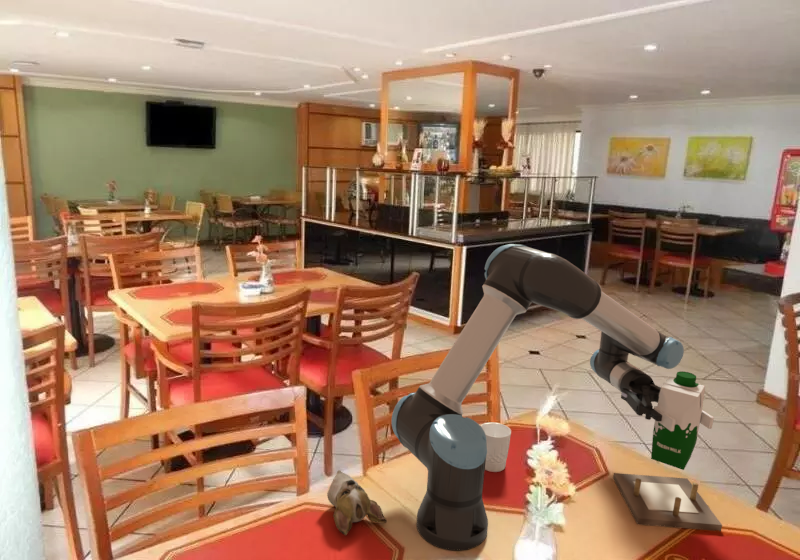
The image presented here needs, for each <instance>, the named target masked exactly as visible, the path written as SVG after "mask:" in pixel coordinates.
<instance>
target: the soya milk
mask: <svg viewBox="0 0 800 560" xmlns="http://www.w3.org/2000/svg"><path fill="white" fill-rule="evenodd" d="M696 381H697V375H695V374H694V373H691V372H689V371H681V370H680V371H677V372H676V376H675V377H673V376H669V377H668V378H667V379H666V380H665V381H664V382H663V383H662V386H661V390H660V393H659V400H658V403H657V407H659V408H660V409H661V410H662V411H663V412H665V413H667V414H668V415H670V416H671V417H673V418H674V419H675V420H676V421H675V427H674V431H670V430H668V429H667V428H666V427H664V426H663V425H662V424H660V423H659V422H658V421H656V420H654V425H653V429H652V430H653V431H652V439H651V440H652V441H651V442H652V443H651V455H650V456H651V457H650V458H651V460H653V461H657V462H658V463H662V464H665V465H668V466H672V467H674V468H677V469H680V470H682V471H684V470H685V468H686V467H687V465H688V463H689V461H690V460H691V457H692V454H693V451H694V449H695V447H696V443H697V439H698V435H699V429H700V426H701V425H700V424H701V423H700V419H701V414H702V410H703V406H704V405H703V404H704V398H705V392H706V391H705V390H706V385H703V384H699V383H698V382H696Z"/></svg>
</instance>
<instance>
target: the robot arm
mask: <svg viewBox="0 0 800 560" xmlns="http://www.w3.org/2000/svg"><path fill="white" fill-rule="evenodd" d="M484 270H485V272H484V278H485V281H484V282H483V285H482V286H481V287H482V291H483V296H482V298H481V300H480V301H479V303H478V305H477V306H476V308H475V310H474V311H473V313H472V314H471V315H470V318H469V319H468V320H467V322H466V324H465V325H464V327H463V329H461V332H460V333H459V335H458V337H457V338H456V340H455V342H454V343H453V345H451V348H450V349H449V351H448V352H447V354H446V356H445V357H444V359H443V361H442V362H441V364H440V365H439V367H438V369H437V370H436V371H435V373H434V375H433V377H432V379H431V380H430V382H428V383H425V384H421V385H419V387H418V388H417V390H416V391H415V392H411V393H409V394H408V395H404V396H403V397H401V398H400V399H399V400H398V401H397V403H396V404H395V406H394V408H393V411H392V414H391V428H392V430H393V433H394V435H395V437H396V438H397V439H398V441H399V443H400V444H401V445H402V446H403V447H404V448H405V449H407V450H409V452H410V453H411V454H412V455H413V456H414V457H415V458H416V459H417V460H418V461H419V462H420V463H421V464H422V465H423V466H424V467H425V468H426V470H427V481H426V484H427V485H426V492H425V493H424V497H423V498H422V501H421V502H420V505H419V508H418V510H417V514H416V522H415V523H416V529H417V532H418V534H419V535H420V536H421V537H422V538H423V540H425V541H426V542H428V543H429V544H431V545H432V546H435V547H437V548H440V549H444V550H448V551H466V550H471V549H473V548H476V547H478V546H479V545H481V544H482V543H483V542H484V541H485V540H486V538H487V534H488V529H489V528H488V527H489V519H488V516H487V512H486V508H485V504H484V501H483V489H484V481H485V471H486V470H485V462H486V455H487V441H486V434H485V432H484V430H483V428H482V427H481V424H479V423H478V422H477V421H475V420H474V419H472V418H470V417H464V416H463V414H464V412H463V407H462V403H463V401H465V398H466V397H467V395H468V393H469V392H470V390H471V388H473V385H474V384H475V383H476V380H477V379H478V377H479V376H480V374H481V373H482V371H483V369H484V368H485V367H486V364H487V362H488V361H489V360H490V358H491V356H492V354H493V353H494V351H495V349H496V348H497V347H498V345H499V344H500V341H501V340H502V338H503V337H504V335H505V334H506V332H507V331H508V329H509V327H510V325H511V324H512V322H513V321H514V319H515V318H516V316H517V315H521V314H525V313H526V312H527V310H528V309H529V307H530V305H531V304H532V303H533V304H536V305H538V306H542V307H545V308H548V309H550V310H555V311H557V312H560V313H563V314H564V315H567V316H568V317H569V318H571V319H574V320H583V321H584V322H586V323H588V324H589V325H591V326H592V327H593V328H595V329H598V331H600V332H601V333H600V341H599V349H597V350H595V351H594V352H593V354H592V355H591V357H590V360H589V365H590V369H592V371H593V372H594V373H595V374H596V375H597V376H598V377H599V378H600V379H602V380H604V381H605V382H607V383H608V384H610V385H611V386H612V387H613V388H615V389H616V390H617V391H619V392H620V393H621V395H620V398H621V400H624V402H626V403H627V404H628V405H629V406H630V408H631V409H632V411H634V413H635V414H636V415H637V416H640V417H641V416H643V415H644V418H645V420H648V421H650V420H651V419H653V420H654V421H655V420H656V421H658V422H659V423H660V424H662V425H663V426H664V427H666V428H667V429H668V430H670V431H674V427H675V421H676V420H675V419H674V418H673V417H671V416H670V415H668V414H667V413H665V412H663V411H662V410H661V409H660V408H659V407H657V406H653V403H654V402H655V403H657V404H658V400H659V393H660V390H661V387H662V386H661V387H660V385H657V384H656V383H655V382H654V380H653V378H652V377H651V376H650V374H647V373H646V372H644V371H643V370H641V369H640V368H638V367H636V366H635V365H633V364H632V363H630V362H629V361H628V360H629V355H632V356H634V357H638V358H640V359H642V360H645V361H646V362H650V363H652V364H654V365H656V366H657V367H661V368H664V369H666V370H671V369H675V368H676V367H677V366H678V365H679V364H680V363H681V361H682V360H683V357H684V353H685V348H684V345H683V343H682V342H681V341H679V340H678V339H676V338H674V337H672V336H668V335H666V334H664V333H662V332H660V331H659V330H657V329H656V328H655V327H653V326H651V325H650V324H649V323H648V322H646V321H644V320H643V319H642V318H640V317H639V316H638V315H636V314H635V313H634V312H632V311H630V310H629V309H628V308H626V307H625V306H623V305H622V304H621V303H619V302H618V301H616V300H615V299H613V297H611V296H609V295H608V294H606V293H605V292H604V291H603V289H602V287H601V285H600V283H599V282H597V281H596V280H595V279H593V278H592V277H591V276H589V275H588V274H587V273H586V272H584V271H582V270H581V269H580V268H579V267H578V266H576V265H574V264H573V263H571V262H570V261H569V260H567V259H565V258H564V257H562V256H559V255H557V254H555V253H551V252H547V251H543V250H541V249H540V250H539V249H536V248H532V247H529V246H527V245H524V244H516V243H515V244H514V243H509V244H505V245H501V246H499V247H497V248H496V249H495V250H493V252H492V253H491V254H490V255H489V256H488V258H487V260H486V262H485V265H484ZM714 419H715V417H714V416H713V415H712V414H709V413H708V412H707V411H705V410H704V409H702V414H701V419H700V424H701V425H703V426H704V427H706V428H707V429H708V430H712V429H713V424H714Z"/></svg>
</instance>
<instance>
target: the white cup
mask: <svg viewBox="0 0 800 560" xmlns="http://www.w3.org/2000/svg"><path fill="white" fill-rule="evenodd" d="M480 426H481V427H482V428H483V430H484V432H485V434H486V441H487V455H486V462H485V471H488V472H493V473H497V472H501V471H503V470H505V468H506V465H507V458H508V455H509V450H510V443H511V435H512V429H511V428H510V427H509V426H508V425H505V424H503V423H499V422H491V421H490V422H484V423H482V424H480Z"/></svg>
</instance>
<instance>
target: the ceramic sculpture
mask: <svg viewBox="0 0 800 560" xmlns="http://www.w3.org/2000/svg"><path fill="white" fill-rule="evenodd" d="M326 496H327V500H328V501H329V503H330V504H331V505H332V506H334V507H335V510H334V512H333V521H334V523H335V526H336V529H338V531H339V532H340V533H341V534H343V535H344V536H347V535H348V534H349V532H350V530H351V529H352V528H353V523H359V522H361V521H362V520H364V519H365V517H366V515H367V517H368V520H369V521H370V522H372V523H380V524H381V523H382V524H385V523H387V520H386V518H385V515H384V513H383V510H382V508H381V506H380V505H379V504H378V503H377V501H375V500H373V499H370V497H369V496H368V493H367V492H366V491H365V489H364V488H363V487H362V486H361V485H360V484H359V483H358V482H357V481H356V480H355V479H354V478H352V476H350V475H349V474H347V473H345V472H343V471H341V470H339V469H338V470H337V472H336V474H335V475H334V477H333V480H332V481H331V484H330V485H329V489H328V491H327V495H326Z"/></svg>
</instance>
